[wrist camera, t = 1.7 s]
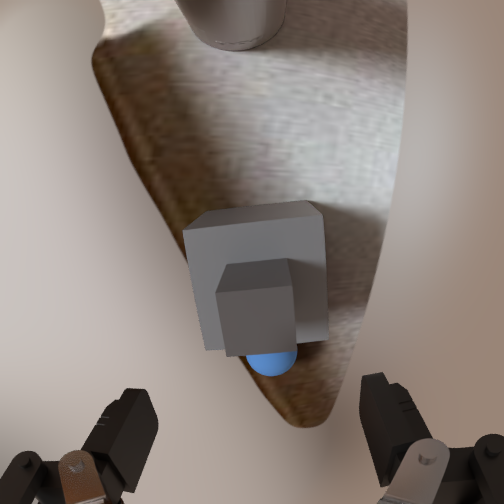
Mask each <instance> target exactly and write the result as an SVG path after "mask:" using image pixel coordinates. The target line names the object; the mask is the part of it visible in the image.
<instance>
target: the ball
mask: <svg viewBox="0 0 504 504" xmlns="http://www.w3.org/2000/svg"><path fill="white" fill-rule="evenodd" d="M246 357H247V360H248V362H249V364H250V365H251V367H252V368H253V369H254V370H255V371H257V372H258V373H260V374H263V375H266V376H276V375H280V374H282V373H284V372H286V371H287V370H289V369H290V368H291V367H292V365H293V364H294V362H295V360H296V357H297V351H292V352H282V353H271V354H260V355H246Z"/></svg>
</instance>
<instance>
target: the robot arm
mask: <svg viewBox="0 0 504 504" xmlns="http://www.w3.org/2000/svg"><path fill="white" fill-rule="evenodd" d="M286 1H287V0H175V2H176V3H177V5H178V7H179V8H180V10H181V12H182V14H183V15H184V17H185V19H186V20H187V22H188V24H189V25H190V27H191V29H192V30H193V32H194V33H195V35H196V36H197V37H198V38H199V39H200V40H201V41H203V42H204V43H206V44H208V45H210V46H211V47H215V48H218V49H221V50H229V51H236V50H245V49H250V48H253V47H256V46H258V45H261V44H263V43H264V42H266V41H268V40H269V39H271V38H272V37H273V36H274V35H275V34H276V33H277V32H278V30H279V29H280V27H281V26H282V23H283V20H284V17H285V9H286ZM359 414H360V420H361V424H362V427H363V430H364V433H365V437H366V440H367V443H368V446H369V450H370V453H371V456H372V459H373V463H374V466H375V470H376V473H377V476H378V480H379V483H380V487H385V486H389V487H388V489H387V491H386V493H385V494H384V496H383V498H382V499H380V500H379V501H378V503H377V504H504V436H502V435H498V434H488V435H485V436H483V437H481V438H480V439H479V440H478V441H477V442H476V444H475V446H474V447H465V448H448V447H447V446H446V445H445V444H444V443H443V442H441V441H439V440H436V439H433V438H432V436H431V434H430V432H429V430H428V428H427V426H426V424H425V422H424V420H423V418H422V417H421V415H420V413H419V411H418V409H417V408H416V405H415V404H414V402H413V401H412V398H411V396H410V395H409V392H408V390H407V389H405V388H404V387H402V386H401V385H400V384H398V383H394V384H389V383H388V381H387V379H386V377H385V375H384V373H383V372H380V373H375V374H370V375H364V376H362V380H361V392H360V403H359ZM157 431H158V418H157V415H156V413H155V410H154V408H153V405H152V402H151V400H150V397H149V395H148V392H147V391H146V390H145V389H133V388H127V389H126V390H124V392H123V394H122V395H121V397H120V399H119V400H114V401H113V402H112V403H111V404H109V405H108V406H107V407H106V409H105V410H104V412H103V413H102V415H101V418H99V420H98V421H97V425H95V426H94V428H93V430H92V432H91V433H90V435H89V436H88V438H87V440H86V441H85V443H84V445H83V447H82V448H81V450H75V451H71V452H69V453H67V454H65V455H64V456H63V457H62V458H61V459H60V461H42V459H41V458H40V457H39V455H38V454H37V453H35V452H33V451H25V452H21V453H19V454H18V455H16V456H15V457H14V458H13V460H12V462H11V463H10V465H9V466H8V468H7V469H6V471H5V472H4V474H3V476H2V477H1V479H0V504H32V502H33V500H34V498H36V499H37V500H38V501H39V502H38V504H124V502H123V500H122V498H121V495H122V492H123V491H126V492H130V493H134V492H135V489H136V487H137V484H138V481H139V479H140V476H141V474H142V471H143V468H144V466H145V463H146V460H147V458H148V455H149V453H150V450H151V447H152V445H153V442H154V440H155V437H156V434H157Z"/></svg>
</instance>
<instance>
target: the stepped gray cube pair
mask: <svg viewBox="0 0 504 504" xmlns="http://www.w3.org/2000/svg"><path fill="white" fill-rule="evenodd" d="M182 231H183V237H184V242H185V248H186V254H187V260H188V265H189V271H190V276H191V281H192V287H193V292H194V297H195V302H196V307H197V312H198V316H199V322H200V326H201V331H202V335H203V340H204V345H205V349H206V350H221V349H225V350H226V356H227V357H230V356H246V355H260V354H271V353H282V352H292V351H297V343H305V342H314V341H322V340H329V326H328V293H327V271H326V253H325V237H324V224H323V215H322V214H321V213H320V212H319V211H318V210H317V209H316V208H315V207H314V206H312V205H311V204H310V203H309V202H308V201H307V200H302V201H292V202H282V203H273V204H264V205H255V206H246V207H238V208H229V209H221V210H213V211H206V212H205V213H204V214H202V215H201V216H200V217H199V218H197V219H196V220H195V221H194V222H192V223H191V224H190V225H189V226H187V227H186V228H185V229H184V230H182Z"/></svg>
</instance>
